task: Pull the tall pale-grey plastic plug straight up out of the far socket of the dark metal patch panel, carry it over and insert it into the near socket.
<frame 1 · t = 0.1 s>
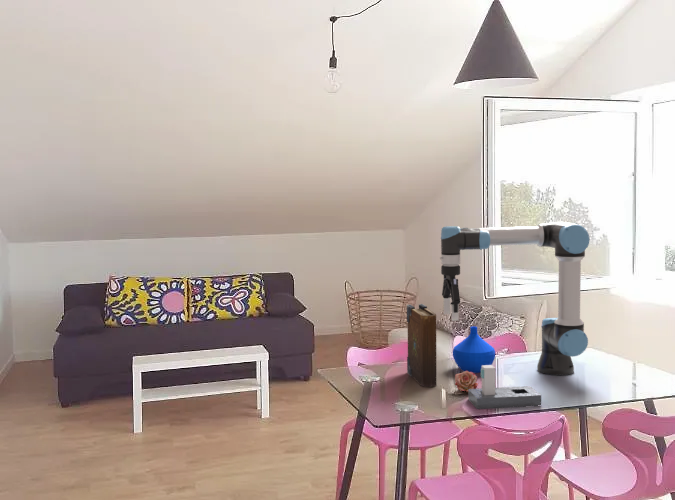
hand: (450, 317, 301), 28 cm above the table, fingers open, 13 cm apart
flower: (466, 393, 293), on the table
plug: (488, 403, 278), resting on panel
vase: (473, 370, 326), on the table
decorative book: (422, 380, 313), on the table
panel: (504, 403, 278), on the table
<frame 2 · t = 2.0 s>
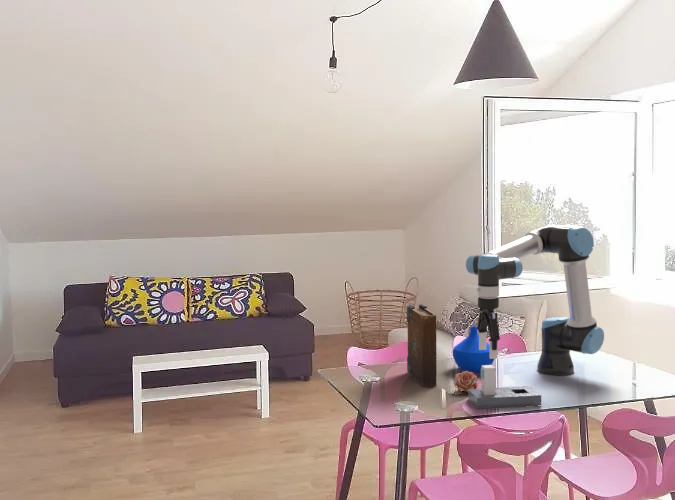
hand: (487, 354, 275), 19 cm above the table, fingers open, 13 cm apart
nothing on the table moved.
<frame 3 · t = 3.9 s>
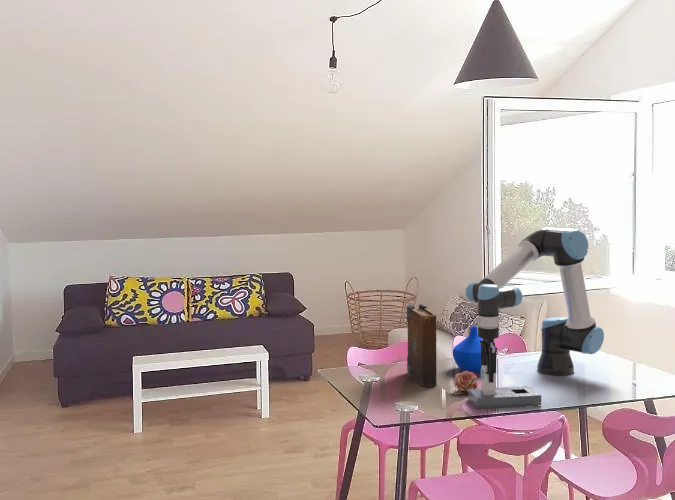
hand: (488, 388, 277), 6 cm above the table, fingers closed on plug, 4 cm apart
plug: (488, 403, 278), point 1 cm above the table, touching gripper, panel
everything else where it was.
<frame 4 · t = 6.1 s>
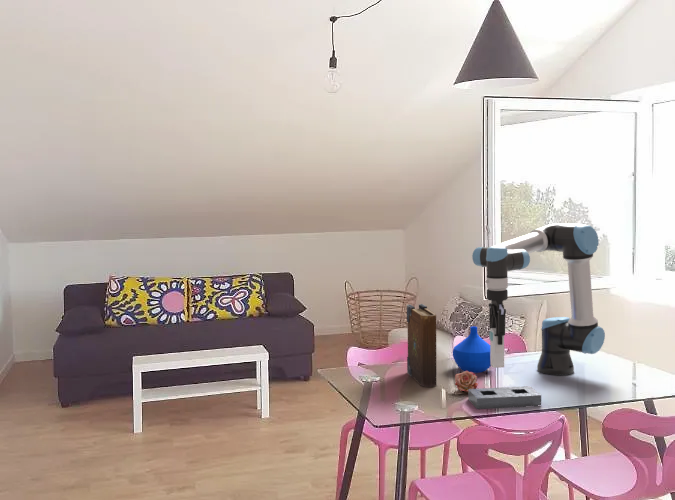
hand: (497, 351, 276), 20 cm above the table, fingers closed on plug, 4 cm apart
plug: (497, 366, 277), point 14 cm above the table, touching gripper
everything else where it was.
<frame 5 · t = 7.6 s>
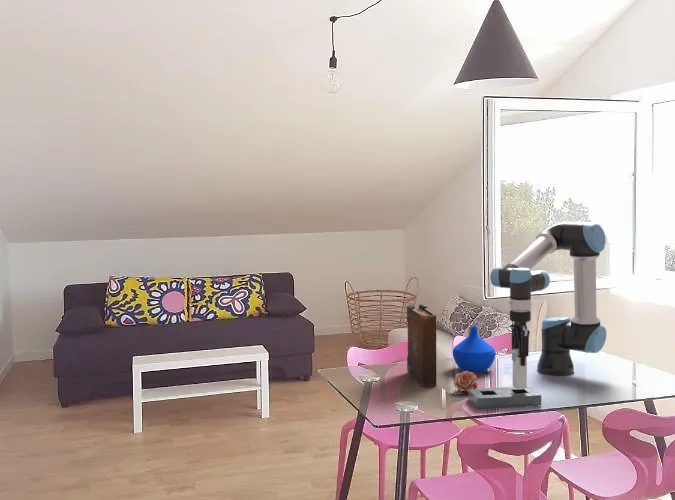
hand: (519, 372, 277), 12 cm above the table, fingers closed on plug, 4 cm apart
plug: (519, 386, 278), point 6 cm above the table, touching gripper
everything else where it was.
when the fingers open (7 cm above the table, at t = 8.8 s): plug drops 1 cm, resting on panel.
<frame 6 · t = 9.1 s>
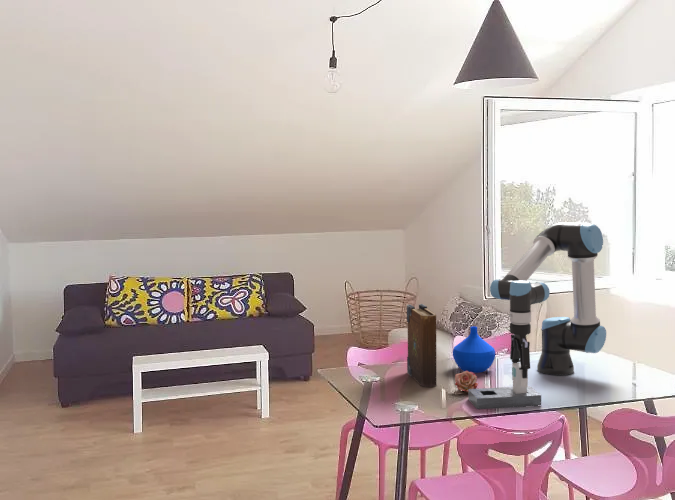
hand: (519, 383, 278), 8 cm above the table, fingers open, 8 cm apart
plug: (519, 401, 279), resting on panel
everything else where it was.
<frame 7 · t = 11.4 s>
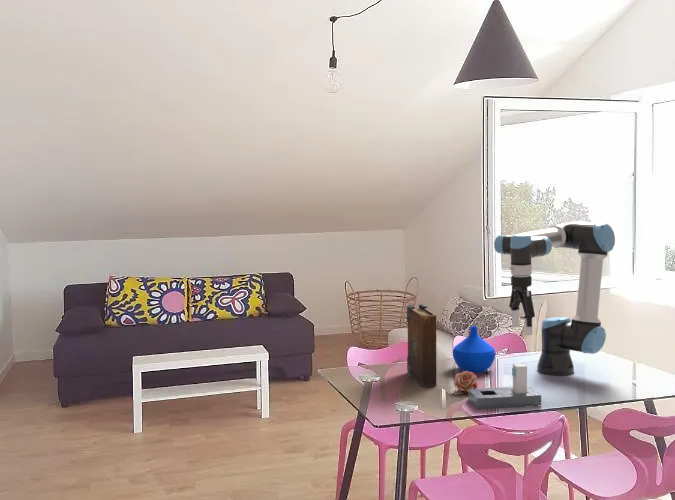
hand: (521, 331, 282), 26 cm above the table, fingers open, 13 cm apart
nothing on the table moved.
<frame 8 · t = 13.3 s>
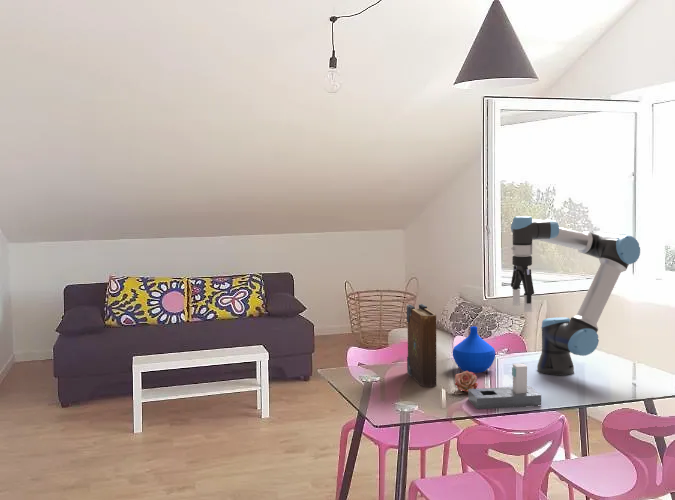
hand: (521, 308, 297), 32 cm above the table, fingers open, 13 cm apart
nothing on the table moved.
at the end: plug 0.0 cm from the target spot on the panel, point 0.5 cm above the panel's base; plug tilted 0°; the gripper is holding nothing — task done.
